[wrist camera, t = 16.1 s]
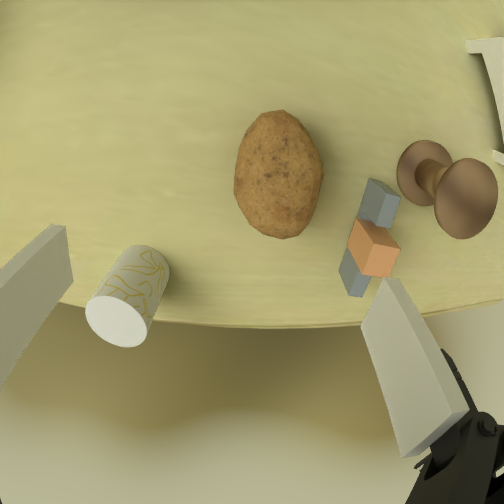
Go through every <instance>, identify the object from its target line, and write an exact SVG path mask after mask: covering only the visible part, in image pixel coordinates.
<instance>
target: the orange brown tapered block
mask: <svg viewBox="0 0 504 504" xmlns="http://www.w3.org/2000/svg"><path fill="white" fill-rule="evenodd" d="M347 247H348V249H349V251H350V252H351V254H352V256H353V258H354V260H355V262H356V264H357V266H358V268H359V270H360V272H361V274H363V275H369V276H375V277H382V278H384V277H389V275H390V273H391V271H392V268H393V266H394V264H395V261H396V259H397V257H398V254H399V252H400V250H401V249H400V248H399V246H398V245H397V244H396V242H395V241H394V240H393V239H392V237H391V236H390V235H389V234H388V233H387V231H386V230H385V229H384V228H383V227H380V226H376V225H375V224H374V223H373V222H371V221H367V220H363V219H358V218H356V220H355V223H354V226H353V229H352V232H351V235H350V237H349V240H348V243H347Z"/></svg>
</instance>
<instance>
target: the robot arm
mask: <svg viewBox="0 0 504 504" xmlns="http://www.w3.org/2000/svg"><path fill="white" fill-rule="evenodd" d="M72 283H73V276H72V270H71V263H70V257H69V250H68V242H67V234H66V226H61V225H55V224H51V225H50V226H49V227H47V228H46V229H45V230H44V231H43V232H41V233H40V234H39V235H38V236H37V237H36V238H34V239H33V240H32V241H31V242H30V243H29V244H28V245H26V246H25V247H24V248H23V249H22V250H21V251H20V252H19V253H18V254H16V255H15V256H14V257H13V258H12V259H11V260H10V261H9V262H8V263H7V264H6V265H5V266H4V267H3V268H2V269H1V270H0V390H1V388H2V386H3V385H4V383H5V381H6V379H7V378H8V376H9V374H10V373H11V371H12V369H13V368H14V366H15V364H16V363H17V361H18V360H19V358H20V356H21V355H22V353H23V352H24V350H25V348H26V347H27V345H28V344H29V342H30V341H31V339H32V338H33V336H34V335H35V333H36V332H37V330H38V329H39V328H40V326H41V325H42V323H43V322H44V320H45V319H46V318H47V316H48V315H49V313H50V312H51V310H52V309H53V308H54V306H55V305H56V304H57V302H58V301H59V300H60V298H61V297H62V296H63V294H64V293H65V292H66V290H67V289H68V288H69V287H70V285H71V284H72ZM360 327H361V330H362V333H363V336H364V338H365V341H366V344H367V347H368V350H369V353H370V356H371V359H372V361H373V364H374V367H375V370H376V373H377V376H378V379H379V383H380V386H381V389H382V392H383V395H384V398H385V401H386V405H387V408H388V411H389V415H390V418H391V422H392V425H393V428H394V432H395V436H396V439H397V443H398V446H399V450H400V454H401V458H405V457H410V456H415V455H419V454H421V453H422V452H423V451H424V450H426V449H427V448H428V447H429V446H430V449H431V452H432V453H430V454H429V455H428V456H426V457H425V458H424V459H423V460H421V461H420V462H419V463H417V464H416V465H415V467H414V469H417V468H418V467H420V466H421V465H422V464H424V465H423V467H422V469H421V470H420V474H419V476H418V478H417V481H416V483H415V485H414V487H413V489H412V491H411V493H410V495H409V497H408V499H407V501H406V503H405V504H504V473H503V474H502V475H500V476H499V477H496V471H497V470H499V469H500V468H502V467H503V466H504V425H497V423H496V421H495V419H494V418H493V417H492V416H491V415H490V414H488V413H485V412H478V410H477V408H476V406H475V404H474V402H473V400H472V397H471V395H470V393H469V391H468V389H467V387H466V385H465V383H464V381H463V380H462V377H461V375H460V373H459V372H457V368H456V366H455V364H454V362H453V360H452V358H451V357H450V356H449V355H448V354H447V353H446V352H445V351H444V350H443V349H440V348H439V346H438V344H437V343H436V341H435V339H434V337H433V335H432V334H431V332H430V330H429V328H428V326H427V325H426V323H425V321H424V320H423V318H422V316H421V314H420V313H419V311H418V309H417V308H416V306H415V304H414V303H413V301H412V299H411V298H410V296H409V294H408V293H407V291H406V290H405V288H404V286H403V285H402V283H401V282H400V280H399V279H395V278H388V277H384V278H383V280H382V282H381V285H380V287H379V289H378V291H377V293H376V295H375V298H374V300H373V302H372V304H371V306H370V308H369V310H368V312H367V314H366V316H365V318H364V320H363V322H362V324H361V326H360ZM0 504H2V502H1V499H0Z"/></svg>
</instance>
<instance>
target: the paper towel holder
mask: <svg viewBox="0 0 504 504" xmlns="http://www.w3.org/2000/svg"><path fill="white" fill-rule="evenodd" d="M464 42H465V44H466V47H467V50H468V53H469V54H471V53H482V55H483V58H484V61H485V64H486V67H487V71H488V74H489V78H490V81H491V85H492V89H493V92H494V97H495V101H496V105H497V110H498V114H499V119H500V124H501V130H502V136H503V142H504V37H492V38H482V39H474V40H466V41H464ZM493 155H494V161H495V162H497V163H499V164H502V165H504V154H503V153H500V152H498V151H496V150H493Z"/></svg>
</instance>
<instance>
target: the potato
mask: <svg viewBox="0 0 504 504" xmlns="http://www.w3.org/2000/svg"><path fill="white" fill-rule="evenodd" d="M322 179H323V165H322V161H321V158H320V156H319V154H318V152H317V150H316V148H315V146H314V144H313V142H312V140H311V138H310V136H309V134H308V132H307V131H306V129H305V128H304V127H303V125H302V124H301V123H300V121H299V120H298V119H297V118H295V117H293V116H292V115H290V114H289V113H287V112H285V111H284V110H278V111H272V112H266V113H261V115H260V116H259V117H258V118H257V119H256V120H255V121H254V123H253V124H252V125H251V126H250V127H249V128H248V129H247V131H246V133H245V135H244V138H243V140H242V143H241V145H240V148H239V153H238V158H237V162H236V168H235V177H234V195H235V197H236V200H237V202H238V205H239V207H240V209H241V211H242V212H243V214H244V215H245V217H246V219H247V220H248V222H249V224H250V225H251V226H252V227H254V228H255V229H257V230H258V231H259V232H261V233H262V234H264V235H267V236H271V237H275V238H279V239H286V238H291V237H295V236H299V235H300V233H301V232H302V231H303V230H304V229H305V227H306V226H307V225H308V224H309V222H310V220H311V217H312V215H313V212H314V209H315V207H316V203H317V199H318V195H319V190H320V187H321V183H322Z"/></svg>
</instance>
